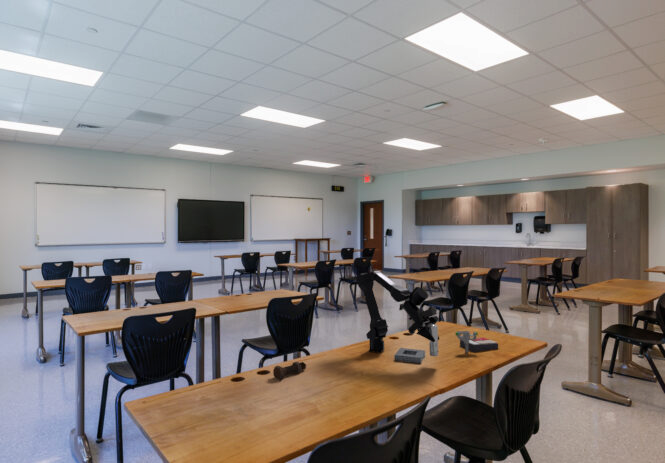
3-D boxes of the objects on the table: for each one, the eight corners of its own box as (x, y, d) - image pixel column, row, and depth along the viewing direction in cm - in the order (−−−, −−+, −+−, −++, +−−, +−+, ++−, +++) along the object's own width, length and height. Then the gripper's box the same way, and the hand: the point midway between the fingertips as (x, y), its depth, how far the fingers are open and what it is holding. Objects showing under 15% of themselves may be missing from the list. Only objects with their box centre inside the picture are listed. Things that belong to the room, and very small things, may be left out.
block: (394, 360, 181) (394, 355, 181) (400, 352, 192) (400, 347, 192) (420, 363, 176) (420, 357, 176) (425, 355, 187) (425, 350, 187)
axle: (429, 355, 171) (428, 325, 171) (430, 353, 174) (430, 324, 174) (437, 356, 170) (437, 326, 170) (438, 354, 173) (438, 324, 173)
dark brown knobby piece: (305, 374, 170) (278, 383, 159) (298, 366, 173) (271, 374, 162) (310, 364, 168) (282, 372, 157) (303, 356, 171) (276, 363, 160)
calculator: (498, 342, 197) (473, 343, 192) (498, 350, 197) (473, 352, 192) (483, 336, 207) (459, 338, 202) (483, 345, 207) (459, 346, 202)
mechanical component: (478, 353, 190) (478, 332, 190) (457, 353, 190) (456, 332, 190) (476, 351, 193) (475, 330, 193) (455, 351, 193) (454, 331, 193)
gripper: (414, 303, 168) (438, 333, 160) (435, 298, 182) (458, 325, 174) (398, 319, 173) (421, 349, 166) (420, 312, 187) (442, 340, 180)
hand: (436, 340), depth 171 cm, fingers closed on axle, 3 cm apart
